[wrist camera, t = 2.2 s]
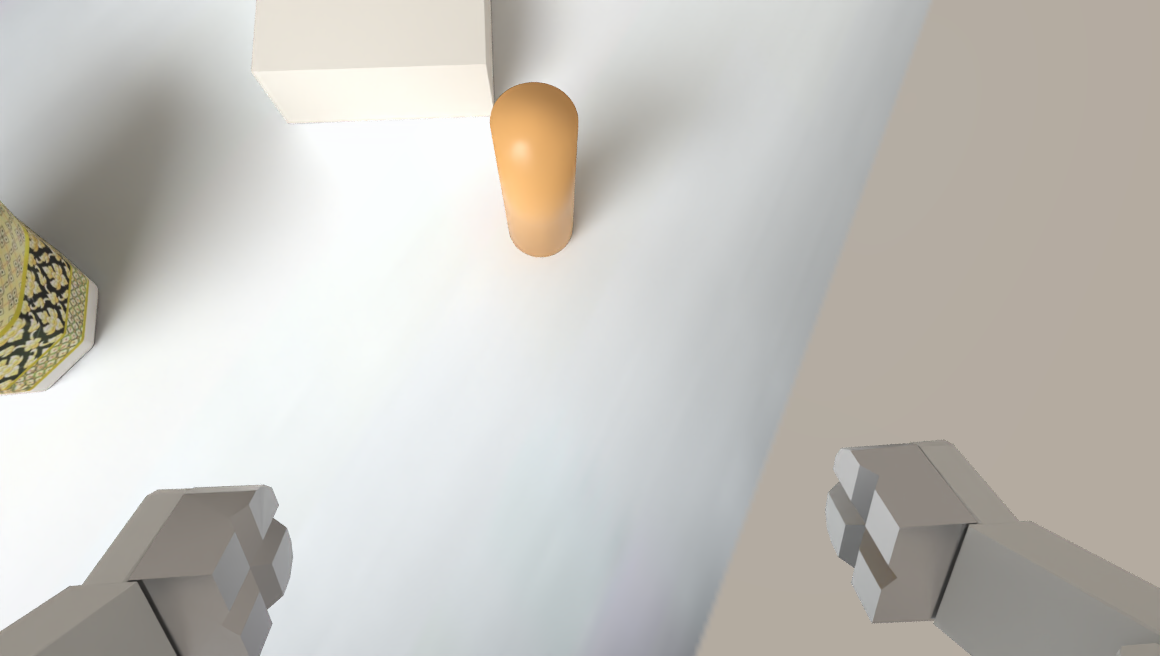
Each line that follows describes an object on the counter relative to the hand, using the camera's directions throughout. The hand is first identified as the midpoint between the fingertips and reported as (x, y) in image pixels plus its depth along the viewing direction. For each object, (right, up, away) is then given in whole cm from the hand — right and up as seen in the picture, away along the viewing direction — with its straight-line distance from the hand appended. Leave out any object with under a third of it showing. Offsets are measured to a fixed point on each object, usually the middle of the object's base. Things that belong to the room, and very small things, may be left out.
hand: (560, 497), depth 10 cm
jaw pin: (-2, +7, +22) cm, 23 cm away
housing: (-9, +18, +24) cm, 32 cm away
